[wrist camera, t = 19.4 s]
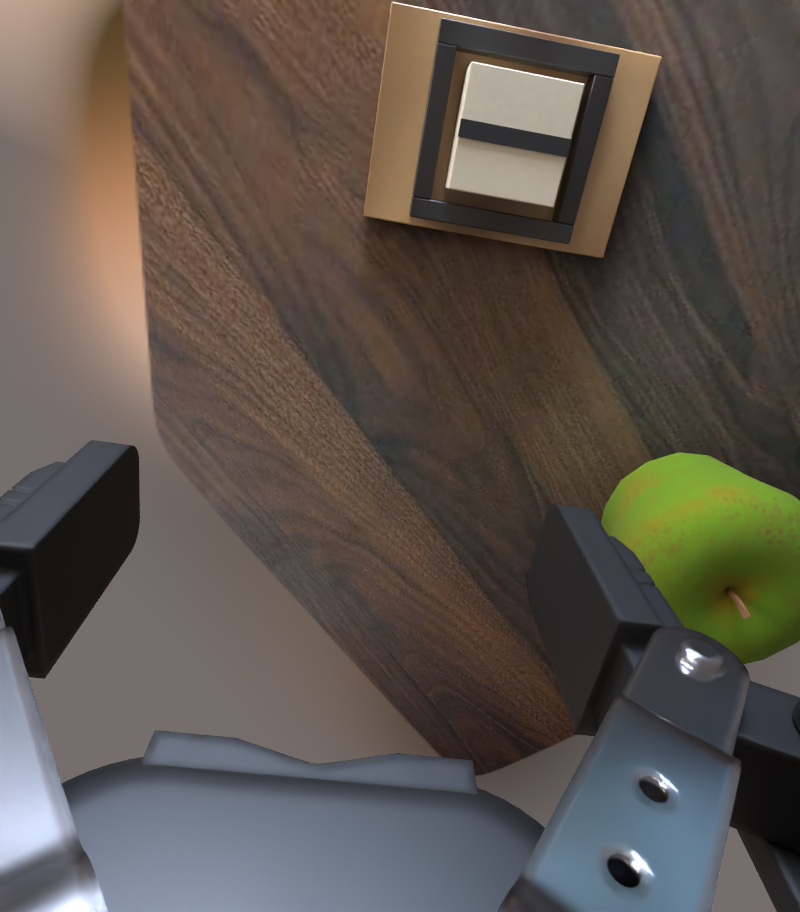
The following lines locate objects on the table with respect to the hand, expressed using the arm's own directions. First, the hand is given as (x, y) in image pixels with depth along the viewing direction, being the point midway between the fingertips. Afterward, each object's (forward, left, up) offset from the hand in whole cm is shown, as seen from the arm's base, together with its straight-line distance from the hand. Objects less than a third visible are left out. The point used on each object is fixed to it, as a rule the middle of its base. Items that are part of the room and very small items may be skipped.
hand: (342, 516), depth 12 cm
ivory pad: (+6, +9, -26) cm, 28 cm away
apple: (+23, -12, -27) cm, 38 cm away
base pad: (+6, +9, -27) cm, 29 cm away
